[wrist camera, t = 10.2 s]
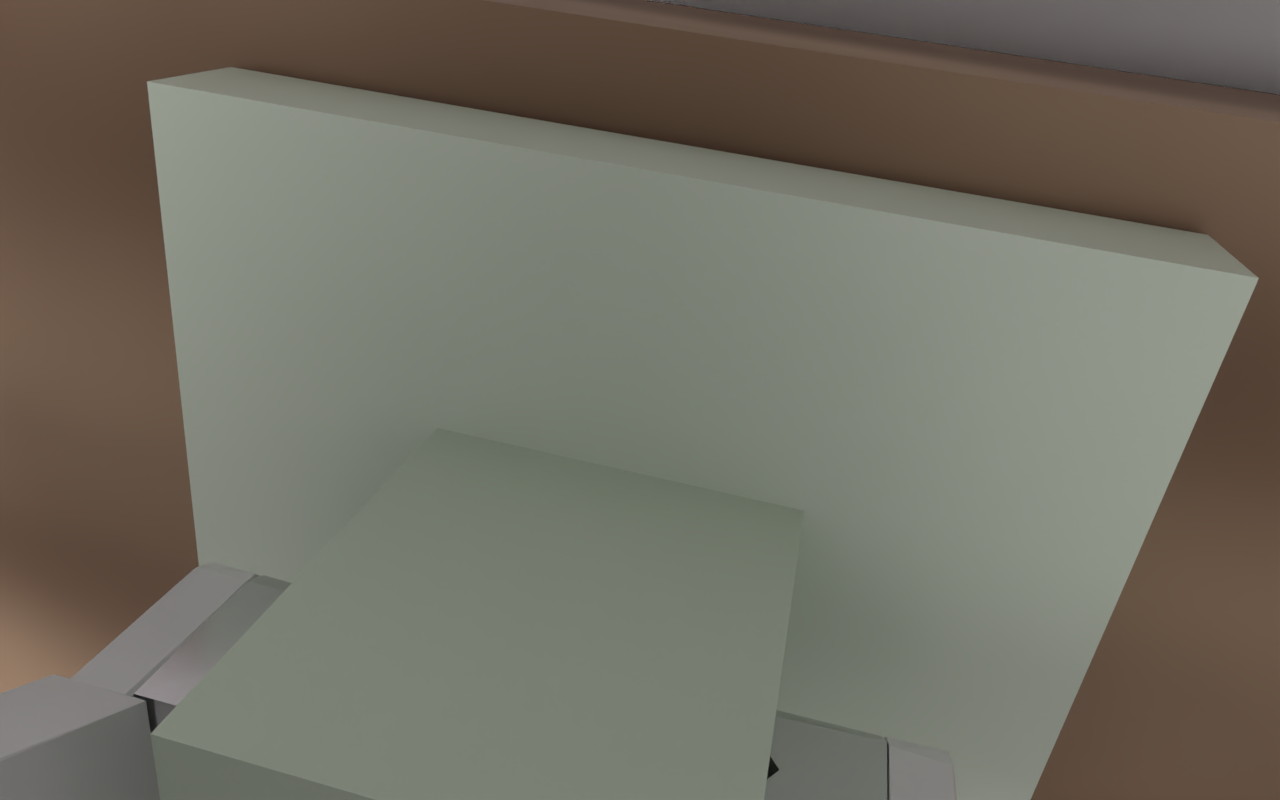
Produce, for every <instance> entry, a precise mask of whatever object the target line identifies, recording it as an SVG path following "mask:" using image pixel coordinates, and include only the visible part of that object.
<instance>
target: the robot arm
mask: <svg viewBox="0 0 1280 800" xmlns="http://www.w3.org/2000/svg"><path fill="white" fill-rule="evenodd" d="M290 585H291V583H290V582H286V581H283V580H279V579H276V578H272V577H269V576H265V575H262V576H260V575H256V574H253V573H249V572H246V571H243V570H239V569H236V568H233V567H229V566H226V565H222V564H219V563H216V562H212V563H208V564H205V565H201V566H198V567H196V568H195V569H193V570H192V571H191V572H190V573H189V574H188V575H186V576H185V577H184V578H183V579H182V580H181V581H180V582H179V583H177V584H176V585H175V586H174V587H173V588H172V589H171V590H169V591H168V592H167V593H166V594H165V595H164V596H163V597H162V598H160V599H159V600H158V601H157V602H156V603H155V604H154V605H153V606H151V607H150V608H149V609H148V610H147V611H146V612H145V613H144V614H142V615H141V616H140V617H139V618H138V619H137V620H136V621H135V622H133V623H132V624H131V625H130V626H129V627H128V628H127V629H126V630H124V631H123V632H122V633H121V634H120V635H119V636H118V637H116V638H115V639H114V640H113V641H112V642H111V643H110V644H109V645H107V646H106V647H105V648H104V649H103V650H102V651H101V652H100V653H98V654H97V655H96V656H95V657H94V658H93V659H92V660H91V661H89V662H88V663H87V664H86V665H85V666H84V667H83V668H82V669H80V670H79V671H78V672H77V673H76V674H75V675H74V676H72V677H71V678H66V677H62V676H59V675H55V674H53V675H50V676H48V677H45V678H42V679H39V680H36V681H34V682H31V683H28V684H25V685H22V686H20V687H17V688H14V689H11V690H8V691H5V692H3V693H0V800H160V795H159V788H158V782H157V775H156V768H155V762H154V755H153V748H152V742H151V735H150V734H151V733H152V732H153V731H154V730H155V728H156V727H157V726H158V725H159V724H160V723H161V722H162V721H163V720H164V719H165V718H166V717H167V716H168V715H169V714H170V712H171V711H172V710H173V709H174V708H175V707H176V706H177V705H178V704H179V703H180V702H181V701H182V700H183V699H184V698H185V696H186V695H187V694H188V693H189V692H190V691H191V690H192V689H193V688H194V687H195V686H196V685H197V684H198V683H199V682H200V680H201V679H202V678H203V677H204V676H205V675H206V674H207V673H208V672H209V671H210V670H211V669H212V668H213V667H214V666H215V664H216V663H217V662H218V661H219V660H220V659H221V658H222V657H223V656H224V655H225V654H226V653H227V652H228V651H229V650H230V648H231V647H232V646H233V645H234V644H235V643H236V642H237V641H238V640H239V639H240V638H241V637H242V636H243V635H244V634H245V632H246V631H247V630H248V629H249V628H250V627H251V626H252V625H253V624H254V623H255V622H256V621H257V620H258V619H259V618H260V616H261V615H262V614H263V613H264V612H265V611H266V610H267V609H268V608H269V607H270V606H271V605H272V604H273V603H274V602H275V600H276V599H277V598H278V597H279V596H280V595H281V594H282V593H283V592H284V591H285V590H286V589H287V588H288V587H289V586H290ZM764 800H957V794H956V784H955V773H954V763H953V760H952V759H951V757H950V755H949V754H948V752H947V751H944V750H940V749H936V748H932V747H927V746H923V745H919V744H915V743H911V742H907V741H903V740H898V739H894V738H890V737H885V738H883V737H882V736H879V735H875V734H871V733H867V732H863V731H859V730H855V729H851V728H847V727H843V726H839V725H835V724H831V723H827V722H823V721H819V720H815V719H811V718H807V717H803V716H799V715H795V714H791V713H787V712H783V711H779V710H776V717H775V724H774V731H773V738H772V746H771V753H770V760H769V767H768V775H767V782H766V789H765V796H764Z"/></svg>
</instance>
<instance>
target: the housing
mask: <svg viewBox="0 0 1280 800" xmlns="http://www.w3.org/2000/svg"><path fill="white" fill-rule="evenodd" d="M228 67H234V68H240V69H246V70H252V71H258V72H264V73H269V74H275V75H281V76H287V77H293V78H298V79H304V80H310V81H316V82H322V83H328V84H333V85H339V86H345V87H351V88H357V89H362V90H368V91H374V92H380V93H386V94H392V95H397V96H403V97H409V98H415V99H421V100H426V101H432V102H438V103H444V104H450V105H456V106H461V107H467V108H473V109H479V110H485V111H490V112H496V113H502V114H508V115H514V116H520V117H525V118H531V119H537V120H543V121H549V122H555V123H560V124H566V125H572V126H578V127H584V128H589V129H595V130H601V131H607V132H613V133H619V134H624V135H630V136H636V137H642V138H648V139H653V140H659V141H665V142H671V143H677V144H683V145H688V146H694V147H700V148H706V149H712V150H717V151H723V152H729V153H735V154H741V155H747V156H752V157H758V158H764V159H770V160H776V161H781V162H787V163H793V164H799V165H805V166H811V167H816V168H822V169H828V170H834V171H840V172H845V173H851V174H857V175H863V176H869V177H875V178H880V179H886V180H892V181H898V182H904V183H910V184H915V185H921V186H927V187H933V188H939V189H944V190H950V191H956V192H962V193H968V194H974V195H979V196H985V197H991V198H997V199H1003V200H1008V201H1014V202H1020V203H1026V204H1032V205H1038V206H1043V207H1049V208H1055V209H1061V210H1067V211H1072V212H1078V213H1084V214H1090V215H1096V216H1102V217H1107V218H1113V219H1119V220H1125V221H1131V222H1136V223H1142V224H1148V225H1154V226H1160V227H1166V228H1171V229H1177V230H1183V231H1189V232H1195V233H1200V234H1206V235H1209V236H1210V237H1211V238H1212V239H1214V240H1215V241H1216V242H1217V243H1218V244H1219V245H1221V246H1222V247H1223V248H1224V249H1225V250H1226V251H1228V252H1229V253H1230V254H1231V255H1232V256H1234V257H1235V258H1236V259H1237V260H1238V261H1239V262H1241V263H1242V264H1243V265H1244V266H1245V267H1246V268H1248V269H1249V270H1250V271H1251V272H1252V273H1253V274H1255V275H1256V276H1257V277H1258V278H1259V279H1258V281H1257V284H1256V286H1255V288H1254V291H1253V293H1252V295H1251V297H1250V300H1249V302H1248V304H1247V307H1246V309H1245V311H1244V313H1243V316H1242V318H1241V320H1240V323H1239V325H1238V327H1237V329H1236V332H1235V334H1234V336H1233V339H1232V341H1231V343H1230V345H1229V348H1228V350H1227V352H1226V354H1225V357H1224V359H1223V361H1222V364H1221V366H1220V368H1219V370H1218V373H1217V375H1216V377H1215V380H1214V382H1213V384H1212V386H1211V389H1210V391H1209V393H1208V396H1207V398H1206V400H1205V402H1204V405H1203V407H1202V409H1201V412H1200V414H1199V416H1198V418H1197V421H1196V423H1195V425H1194V428H1193V430H1192V432H1191V434H1190V437H1189V439H1188V441H1187V444H1186V446H1185V448H1184V450H1183V453H1182V455H1181V457H1180V459H1179V462H1178V464H1177V466H1176V469H1175V471H1174V473H1173V475H1172V478H1171V480H1170V482H1169V485H1168V487H1167V489H1166V491H1165V494H1164V496H1163V498H1162V501H1161V503H1160V505H1159V507H1158V510H1157V512H1156V514H1155V517H1154V519H1153V521H1152V523H1151V526H1150V528H1149V530H1148V533H1147V535H1146V537H1145V539H1144V542H1143V544H1142V546H1141V549H1140V551H1139V553H1138V555H1137V558H1136V560H1135V562H1134V564H1133V567H1132V569H1131V571H1130V574H1129V576H1128V578H1127V580H1126V583H1125V585H1124V587H1123V590H1122V592H1121V594H1120V596H1119V599H1118V601H1117V603H1116V606H1115V608H1114V610H1113V612H1112V615H1111V617H1110V619H1109V622H1108V624H1107V626H1106V628H1105V631H1104V633H1103V635H1102V638H1101V640H1100V642H1099V644H1098V647H1097V649H1096V651H1095V654H1094V656H1093V658H1092V660H1091V663H1090V665H1089V667H1088V669H1087V672H1086V674H1085V676H1084V679H1083V681H1082V683H1081V685H1080V688H1079V690H1078V692H1077V695H1076V697H1075V699H1074V701H1073V704H1072V706H1071V708H1070V711H1069V713H1068V715H1067V717H1066V720H1065V722H1064V724H1063V727H1062V729H1061V731H1060V733H1059V736H1058V738H1057V740H1056V743H1055V745H1054V747H1053V749H1052V752H1051V754H1050V756H1049V759H1048V761H1047V763H1046V765H1045V768H1044V770H1043V772H1042V774H1041V777H1040V779H1039V781H1038V784H1037V786H1036V788H1035V790H1034V793H1033V795H1032V797H1031V800H1280V95H1277V94H1270V93H1263V92H1257V91H1250V90H1243V89H1237V88H1230V87H1223V86H1217V85H1210V84H1203V83H1196V82H1190V81H1183V80H1176V79H1170V78H1163V77H1156V76H1150V75H1143V74H1136V73H1130V72H1123V71H1116V70H1110V69H1103V68H1096V67H1089V66H1083V65H1076V64H1069V63H1063V62H1056V61H1049V60H1043V59H1036V58H1029V57H1023V56H1016V55H1009V54H1002V53H996V52H989V51H982V50H976V49H969V48H962V47H956V46H949V45H942V44H936V43H929V42H922V41H916V40H909V39H902V38H895V37H889V36H882V35H875V34H869V33H862V32H855V31H849V30H842V29H835V28H829V27H822V26H815V25H808V24H802V23H795V22H788V21H782V20H775V19H768V18H762V17H755V16H748V15H742V14H735V13H728V12H722V11H715V10H708V9H701V8H695V7H688V6H681V5H675V4H668V3H661V2H655V1H648V0H0V693H3V692H5V691H8V690H11V689H14V688H17V687H20V686H22V685H25V684H28V683H31V682H34V681H36V680H39V679H42V678H45V677H48V676H50V675H53V674H55V675H59V676H62V677H66V678H71V677H72V676H74V675H75V674H76V673H77V672H78V671H79V670H80V669H82V668H83V667H84V666H85V665H86V664H87V663H88V662H89V661H91V660H92V659H93V658H94V657H95V656H96V655H97V654H98V653H100V652H101V651H102V650H103V649H104V648H105V647H106V646H107V645H109V644H110V643H111V642H112V641H113V640H114V639H115V638H116V637H118V636H119V635H120V634H121V633H122V632H123V631H124V630H126V629H127V628H128V627H129V626H130V625H131V624H132V623H133V622H135V621H136V620H137V619H138V618H139V617H140V616H141V615H142V614H144V613H145V612H146V611H147V610H148V609H149V608H150V607H151V606H153V605H154V604H155V603H156V602H157V601H158V600H159V599H160V598H162V597H163V596H164V595H165V594H166V593H167V592H168V591H169V590H171V589H172V588H173V587H174V586H175V585H176V584H177V583H179V582H180V581H181V580H182V579H183V578H184V577H185V576H186V575H188V574H189V573H190V572H191V571H192V570H193V569H195V568H196V567H198V566H199V562H198V553H197V543H196V534H195V525H194V516H193V506H192V497H191V488H190V478H189V469H188V460H187V450H186V441H185V432H184V422H183V413H182V404H181V394H180V385H179V376H178V366H177V357H176V348H175V338H174V329H173V320H172V311H171V301H170V292H169V283H168V273H167V264H166V255H165V245H164V236H163V227H162V217H161V208H160V199H159V189H158V180H157V171H156V161H155V152H154V143H153V133H152V124H151V115H150V106H149V96H148V87H147V81H152V80H158V79H164V78H170V77H176V76H182V75H187V74H193V73H199V72H205V71H211V70H216V69H222V68H228Z"/></svg>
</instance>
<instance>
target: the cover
mask: <svg viewBox="0 0 1280 800" xmlns="http://www.w3.org/2000/svg"><path fill="white" fill-rule="evenodd" d="M147 87H148V96H149V106H150V115H151V124H152V133H153V143H154V152H155V161H156V171H157V180H158V189H159V199H160V208H161V217H162V227H163V236H164V245H165V255H166V264H167V273H168V283H169V292H170V301H171V311H172V320H173V329H174V338H175V348H176V357H177V366H178V376H179V385H180V394H181V404H182V413H183V422H184V432H185V441H186V450H187V460H188V469H189V478H190V488H191V497H192V506H193V516H194V525H195V534H196V543H197V553H198V562H199V566H201V565H205V564H208V563H212V562H216V563H219V564H222V565H226V566H229V567H233V568H236V569H239V570H243V571H246V572H249V573H253V574H256V575H260V576H262V575H265V576H269V577H272V578H276V579H279V580H283V581H286V582H290V583H291V585H290V586H289V587H288V588H287V589H286V590H285V591H284V592H283V593H282V594H281V595H280V596H279V597H278V598H277V599H276V600H275V602H274V603H273V604H272V605H271V606H270V607H269V608H268V609H267V610H266V611H265V612H264V613H263V614H262V615H261V616H260V618H259V619H258V620H257V621H256V622H255V623H254V624H253V625H252V626H251V627H250V628H249V629H248V630H247V631H246V632H245V634H244V635H243V636H242V637H241V638H240V639H239V640H238V641H237V642H236V643H235V644H234V645H233V646H232V647H231V648H230V650H229V651H228V652H227V653H226V654H225V655H224V656H223V657H222V658H221V659H220V660H219V661H218V662H217V663H216V664H215V666H214V667H213V668H212V669H211V670H210V671H209V672H208V673H207V674H206V675H205V676H204V677H203V678H202V679H201V680H200V682H199V683H198V684H197V685H196V686H195V687H194V688H193V689H192V690H191V691H190V692H189V693H188V694H187V695H186V696H185V698H184V699H183V700H182V701H181V702H180V703H179V704H178V705H177V706H176V707H175V708H174V709H173V710H172V711H171V712H170V714H169V715H168V716H167V717H166V718H165V719H164V720H163V721H162V722H161V723H160V724H159V725H158V726H157V727H156V728H155V730H154V731H153V732H152V733H151V734H150V735H151V742H152V748H153V755H154V762H155V768H156V775H157V782H158V788H159V795H160V800H764V796H765V789H766V782H767V775H768V767H769V760H770V753H771V746H772V738H773V731H774V724H775V717H776V710H779V711H783V712H787V713H791V714H795V715H799V716H803V717H807V718H811V719H815V720H819V721H823V722H827V723H831V724H835V725H839V726H843V727H847V728H851V729H855V730H859V731H863V732H867V733H871V734H875V735H879V736H882V737H883V738H885V737H890V738H894V739H898V740H903V741H907V742H911V743H915V744H919V745H923V746H927V747H932V748H936V749H940V750H944V751H947V752H948V754H949V755H950V757H951V759H952V760H953V763H954V773H955V784H956V794H957V800H1031V797H1032V795H1033V793H1034V790H1035V788H1036V786H1037V784H1038V781H1039V779H1040V777H1041V774H1042V772H1043V770H1044V768H1045V765H1046V763H1047V761H1048V759H1049V756H1050V754H1051V752H1052V749H1053V747H1054V745H1055V743H1056V740H1057V738H1058V736H1059V733H1060V731H1061V729H1062V727H1063V724H1064V722H1065V720H1066V717H1067V715H1068V713H1069V711H1070V708H1071V706H1072V704H1073V701H1074V699H1075V697H1076V695H1077V692H1078V690H1079V688H1080V685H1081V683H1082V681H1083V679H1084V676H1085V674H1086V672H1087V669H1088V667H1089V665H1090V663H1091V660H1092V658H1093V656H1094V654H1095V651H1096V649H1097V647H1098V644H1099V642H1100V640H1101V638H1102V635H1103V633H1104V631H1105V628H1106V626H1107V624H1108V622H1109V619H1110V617H1111V615H1112V612H1113V610H1114V608H1115V606H1116V603H1117V601H1118V599H1119V596H1120V594H1121V592H1122V590H1123V587H1124V585H1125V583H1126V580H1127V578H1128V576H1129V574H1130V571H1131V569H1132V567H1133V564H1134V562H1135V560H1136V558H1137V555H1138V553H1139V551H1140V549H1141V546H1142V544H1143V542H1144V539H1145V537H1146V535H1147V533H1148V530H1149V528H1150V526H1151V523H1152V521H1153V519H1154V517H1155V514H1156V512H1157V510H1158V507H1159V505H1160V503H1161V501H1162V498H1163V496H1164V494H1165V491H1166V489H1167V487H1168V485H1169V482H1170V480H1171V478H1172V475H1173V473H1174V471H1175V469H1176V466H1177V464H1178V462H1179V459H1180V457H1181V455H1182V453H1183V450H1184V448H1185V446H1186V444H1187V441H1188V439H1189V437H1190V434H1191V432H1192V430H1193V428H1194V425H1195V423H1196V421H1197V418H1198V416H1199V414H1200V412H1201V409H1202V407H1203V405H1204V402H1205V400H1206V398H1207V396H1208V393H1209V391H1210V389H1211V386H1212V384H1213V382H1214V380H1215V377H1216V375H1217V373H1218V370H1219V368H1220V366H1221V364H1222V361H1223V359H1224V357H1225V354H1226V352H1227V350H1228V348H1229V345H1230V343H1231V341H1232V339H1233V336H1234V334H1235V332H1236V329H1237V327H1238V325H1239V323H1240V320H1241V318H1242V316H1243V313H1244V311H1245V309H1246V307H1247V304H1248V302H1249V300H1250V297H1251V295H1252V293H1253V291H1254V288H1255V286H1256V284H1257V281H1258V279H1259V278H1258V277H1257V276H1256V275H1255V274H1253V273H1252V272H1251V271H1250V270H1249V269H1248V268H1246V267H1245V266H1244V265H1243V264H1242V263H1241V262H1239V261H1238V260H1237V259H1236V258H1235V257H1234V256H1232V255H1231V254H1230V253H1229V252H1228V251H1226V250H1225V249H1224V248H1223V247H1222V246H1221V245H1219V244H1218V243H1217V242H1216V241H1215V240H1214V239H1212V238H1211V237H1210V236H1209V235H1206V234H1200V233H1195V232H1189V231H1183V230H1177V229H1171V228H1166V227H1160V226H1154V225H1148V224H1142V223H1136V222H1131V221H1125V220H1119V219H1113V218H1107V217H1102V216H1096V215H1090V214H1084V213H1078V212H1072V211H1067V210H1061V209H1055V208H1049V207H1043V206H1038V205H1032V204H1026V203H1020V202H1014V201H1008V200H1003V199H997V198H991V197H985V196H979V195H974V194H968V193H962V192H956V191H950V190H944V189H939V188H933V187H927V186H921V185H915V184H910V183H904V182H898V181H892V180H886V179H880V178H875V177H869V176H863V175H857V174H851V173H845V172H840V171H834V170H828V169H822V168H816V167H811V166H805V165H799V164H793V163H787V162H781V161H776V160H770V159H764V158H758V157H752V156H747V155H741V154H735V153H729V152H723V151H717V150H712V149H706V148H700V147H694V146H688V145H683V144H677V143H671V142H665V141H659V140H653V139H648V138H642V137H636V136H630V135H624V134H619V133H613V132H607V131H601V130H595V129H589V128H584V127H578V126H572V125H566V124H560V123H555V122H549V121H543V120H537V119H531V118H525V117H520V116H514V115H508V114H502V113H496V112H490V111H485V110H479V109H473V108H467V107H461V106H456V105H450V104H444V103H438V102H432V101H426V100H421V99H415V98H409V97H403V96H397V95H392V94H386V93H380V92H374V91H368V90H362V89H357V88H351V87H345V86H339V85H333V84H328V83H322V82H316V81H310V80H304V79H298V78H293V77H287V76H281V75H275V74H269V73H264V72H258V71H252V70H246V69H240V68H234V67H228V68H222V69H216V70H211V71H205V72H199V73H193V74H187V75H182V76H176V77H170V78H164V79H158V80H152V81H147Z"/></svg>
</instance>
